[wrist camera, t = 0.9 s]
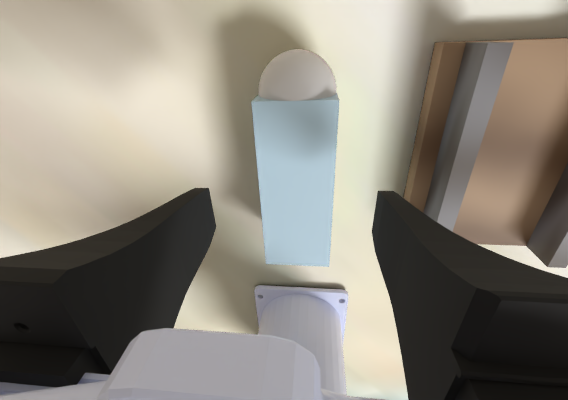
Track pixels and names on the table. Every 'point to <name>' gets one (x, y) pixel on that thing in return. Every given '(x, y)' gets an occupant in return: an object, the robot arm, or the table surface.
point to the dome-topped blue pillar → (296, 157)
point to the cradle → (496, 144)
